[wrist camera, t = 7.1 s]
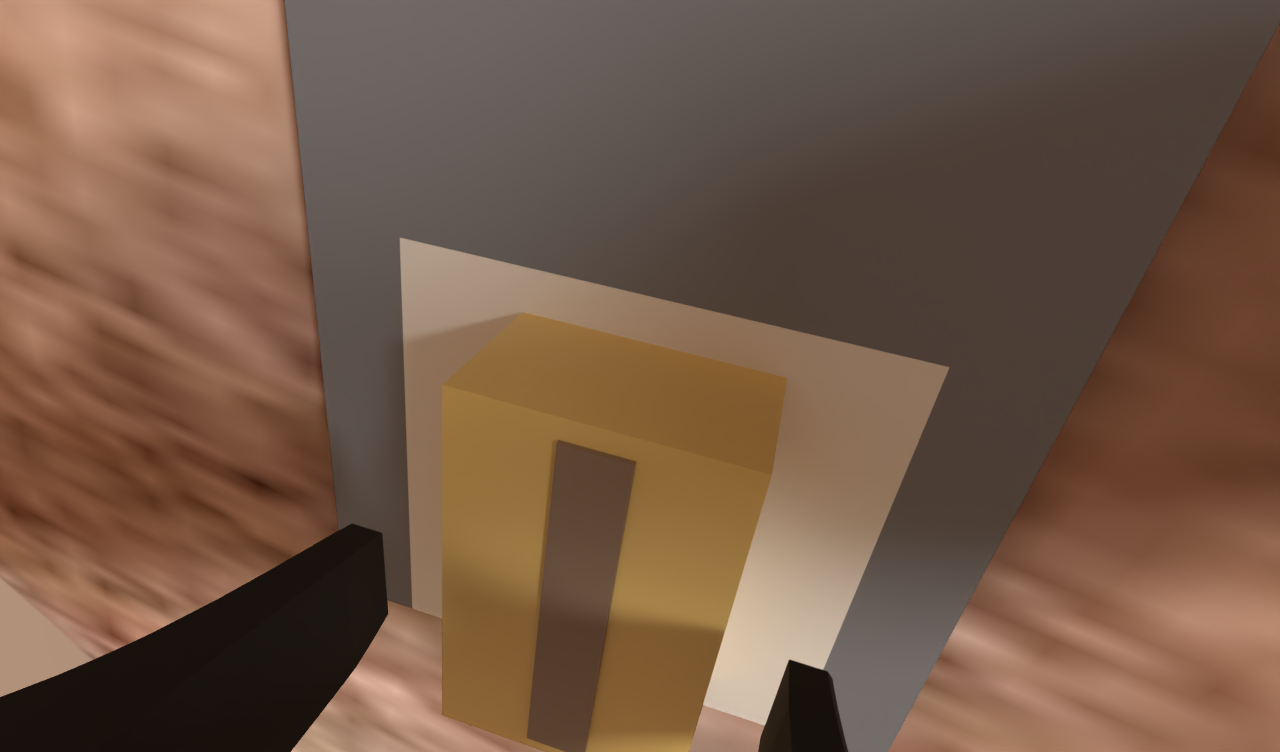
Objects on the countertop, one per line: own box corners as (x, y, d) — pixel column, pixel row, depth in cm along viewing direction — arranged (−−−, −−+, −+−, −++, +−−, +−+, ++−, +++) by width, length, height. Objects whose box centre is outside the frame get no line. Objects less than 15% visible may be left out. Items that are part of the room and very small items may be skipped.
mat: (1858, -1139, 5) (1980, -1277, 4) (880, 739, 16) (881, 764, 16) (222, -997, 7) (172, -1078, 7) (358, 570, 18) (343, 586, 18)
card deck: (702, 672, 16) (673, 803, 13) (504, 608, 17) (439, 719, 14) (786, 378, 12) (771, 479, 9) (523, 312, 13) (438, 388, 10)
